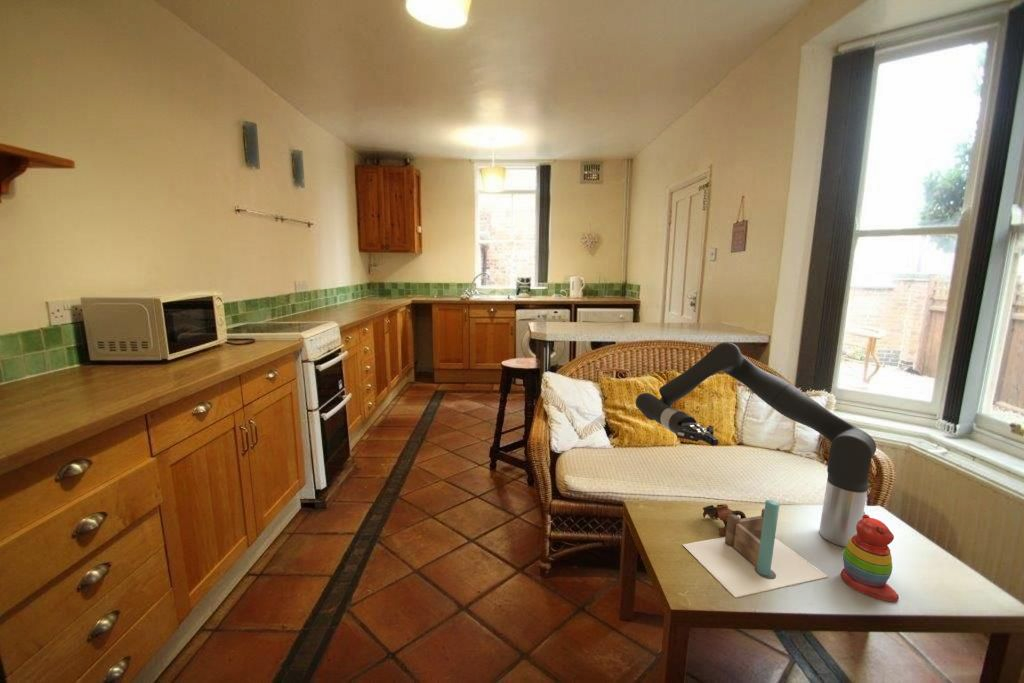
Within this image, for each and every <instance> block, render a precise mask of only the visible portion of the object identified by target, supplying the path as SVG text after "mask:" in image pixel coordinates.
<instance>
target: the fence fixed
mask: <svg viewBox="0 0 1024 683" xmlns="http://www.w3.org/2000/svg"><path fill="white" fill-rule="evenodd" d="M764 510H765V508H763V509H761V513H760V514H761V515H757V516H750V517H746V518H743V519H740V518H741V517H740V516H739V515H737V516H736V515H734V514H729V515H728V519H727V528H726V536H724V537H725V544H726V545H728V546H730V547H734V538H735V529H736V524H741V525H742V526H743V527H745V528H746V529H747V530H748V531H750V532H751V533H752V534H753V535H754V536H756V537H757V538H758V539H759V540H760V539H761V532H762V525H763V517H764Z"/></svg>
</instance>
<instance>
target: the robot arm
mask: <svg viewBox="0 0 1024 683" xmlns="http://www.w3.org/2000/svg"><path fill="white" fill-rule="evenodd" d="M719 372H723V373H725V374H726V375H728V376H730V377H732V378H734V379H735V380H736V381H738V382H740V383H741V384H743V385H744V386H746V387H747V388H748V389H749V390H750V391H751V392H752V393H754V394H755V395H756V396H757V397H758V398H759V399H761V401H763V402H764V403H765V404H767V405H768V406H770V407H771V408H772V409H774V410H775V411H776V412H778V413H779V414H781V415H782V416H784V417H786V418H787V419H789V420H791V421H794V422H796V423H799V424H801V425H804V426H806V427H808V428H810V429H812V430H814V431H816V432H817V433H818V434H820V435H821V436H823V437H824V438H825V439H827V440H828V441H829V442H830V446H829V452H828V460H827V469H826V471H827V479H826V486H825V492H824V498H823V505H822V510H821V511H822V512H821V515H820V524H819V531H818V533H819V535H820V537H822V538H823V539H825V540H826V541H828V542H829V543H832V544H835V545H837V546H840V547H844V548H845V547H846V545H847V543H848V541H849V540H850V538H852V537H853V536H854V535H856V534H857V530H856V526H857V523H858V522H859V521H860V520H861V519H862V516H863V515H865V514H866V512H865V506H866V501H867V495H868V490H869V485H870V483H869V476H870V470H871V464H872V459H873V457H874V455H875V454H876V452H877V444H876V441H875V440H874V438H873V437H872V436H871V435H870V434H869V433H867V432H866V431H864V430H863V429H861V428H859V427H857V426H855V425H853V424H851V423H850V422H848V421H846V420H844V419H843V418H841V417H840V416H838V415H836V414H835V413H832V412H831V411H830V410H828V409H827V408H826V407H824V406H822V404H820V403H819V402H817V401H816V400H815V399H813V398H811V397H810V396H808V395H807V394H806V393H804V392H803V391H802V390H800V389H799V388H798V387H796V386H794V385H792V384H791V383H790V382H788V381H787V380H785V379H783V378H781V377H780V376H776V375H775V374H773V373H770V372H768V371H766V370H764V369H761V368H760V367H759V366H757V365H756V364H754V363H753V362H751V361H750V360H749V359H748V358H746V356H745V355H743V354H742V351H741V349H740V347H738V345H736V344H734V343H733V342H729V341H725V342H721V343H718V344H717V345H715V347H713V348H712V349H711V350H709V352H708V353H707V354H706V355H704V356H703V357H702V358H701V359H699V361H697V362H696V363H694V364H693V365H692V366H691V367H689V368H688V369H687V370H685V371H683V372H682V373H681V374H679V375H677V376H676V377H674V378H673V379H672V380H669V381H668V382H667V383H665V384H664V385H662V386H661V387H659V389H658V391H659V395H660V396H661V398H658V397H657V396H655V395H653V394H652V393H649V392H643V393H640V394H638V395H637V396H636V398H635V406H636V407H637V409H638V410H639V411H640V412H641V413H642V414H643V416H644V417H645V418H646V419H647V420H650V421H654V422H656V423H658V424H659V425H661V426H663V427H665V428H666V429H667V430H669V431H670V432H672V433H674V434H675V435H677V438H679V439H683V440H689V441H692V442H693V441H694V442H695V443H696V442H699V441H700V442H702V443H706V444H709V445H710V446H712V447H714V446H718V444H719V439H718V437H716V436H714V433H715V432H714V426H713V425H708V426H707V427H706V426H704V425H702V424H700V423H698V422H697V420H696V419H695V417H693V416H692V415H690V414H688V413H687V412H684V411H682V410H680V409H678V408H674V407H673V406H672V405H673V404H675V403H676V402H677V401H680V400H681V399H682V398H685V397H686V396H687V395H689V394H690V393H692V391H694V390H695V389H696V388H697V387H698V386H700V384H701V383H703V382H704V381H705V380H706V379H709V377H711V376H713V375H714V374H717V373H719Z"/></svg>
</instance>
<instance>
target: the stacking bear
mask: <svg viewBox="0 0 1024 683" xmlns="http://www.w3.org/2000/svg"><path fill="white" fill-rule="evenodd" d="M856 530H857V534H856V535H854V536H853V537H852V538H850V540H849V541H848V543H847V545H846V547H844V549H843V554H842V556H843V557H842V558H843V560H842V561H843V567H844V568H843V569H842V570H841V572H840V575H841V576H840V577H841V579H842V580H843V582H844V583H845V584H846V585H848V586H849V587H850V588H851V589H854V590H855V591H857V592H859V593H861V594H863V595H866V596H868V597H872V598H874V597H875V599H879V600H882V601H887V602H893V603H894V602H898V600H899V598H900V595H899V594H898V593H897V591H896V590H895V589H894V588H892V586H890V585H889V584H888V583H887V582H888V580H889V579H890V577H891V575H892V572H893V558H892V552H891V548H890V547H889V545H891V543H893V541H894V538H895V535H894V533H893V532H892V531H891V530H890V528H889V527H888V525H886V524H885V523H884V522H883V521H881V520H880V519H877V518H874V517H870V515H868V514H866V513H865V515H863V516H862V519H861V520H860V521H859V522H858V523H857V526H856Z"/></svg>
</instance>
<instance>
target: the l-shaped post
mask: <svg viewBox="0 0 1024 683" xmlns="http://www.w3.org/2000/svg"><path fill="white" fill-rule="evenodd" d="M764 509H765V510H764V517H763V525H762V532H761V540H759V539H758V538H757V537H756V536H754V535H753V534H752V533H751V532H750V531H748V530H747V529H746V528H745V527H743V526H742V525H741V524H736V529H735V538H734V547H735V548H736V549H737V550H738V551H739V552H740V553H741V554H742V555H744V556H745V557H746V558H747V559H748V560H749V561H750V562H751V563H752V564H753V565H755V566H756V567H757V571H758V572H759V573H760V574H762V575H766V576H767V575H770V570H771V563H772V556H773V548H774V541H775V538H776V532H777V527H778V526H777V525H778V518H779V511H780V503H779V502H778V501H776V500H773V499H766V500H765V503H764Z"/></svg>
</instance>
